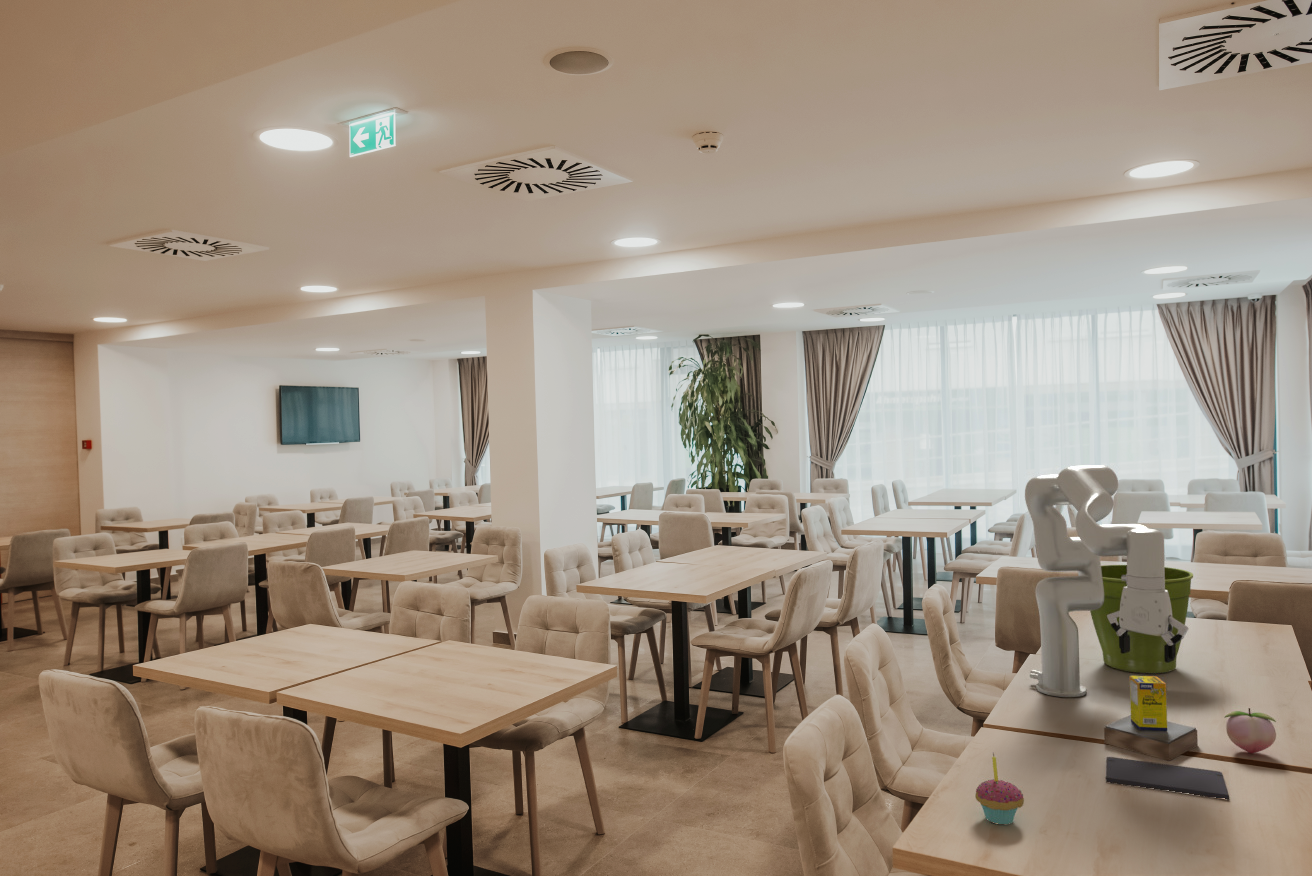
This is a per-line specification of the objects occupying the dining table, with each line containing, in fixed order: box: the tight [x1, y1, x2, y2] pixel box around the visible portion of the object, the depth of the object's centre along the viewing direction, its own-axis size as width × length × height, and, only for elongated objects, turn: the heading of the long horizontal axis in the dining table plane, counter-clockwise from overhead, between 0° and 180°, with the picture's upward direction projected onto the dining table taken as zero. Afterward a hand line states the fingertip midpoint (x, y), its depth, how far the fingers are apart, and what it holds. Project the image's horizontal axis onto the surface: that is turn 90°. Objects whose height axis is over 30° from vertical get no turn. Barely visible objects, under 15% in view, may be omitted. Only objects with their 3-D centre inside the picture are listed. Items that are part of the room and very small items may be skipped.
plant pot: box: [1089, 564, 1194, 674], centre depth 259 cm, size 30×30×29 cm
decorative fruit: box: [1224, 707, 1277, 754], centre depth 190 cm, size 9×8×10 cm
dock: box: [1103, 714, 1199, 762], centre depth 197 cm, size 14×14×4 cm
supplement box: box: [1129, 675, 1168, 731], centre depth 197 cm, size 6×6×11 cm
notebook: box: [1105, 756, 1230, 800], centre depth 177 cm, size 13×2×21 cm
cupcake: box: [975, 752, 1025, 825], centre depth 162 cm, size 9×8×12 cm
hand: (1146, 656), depth 197 cm, fingers open, 9 cm apart
